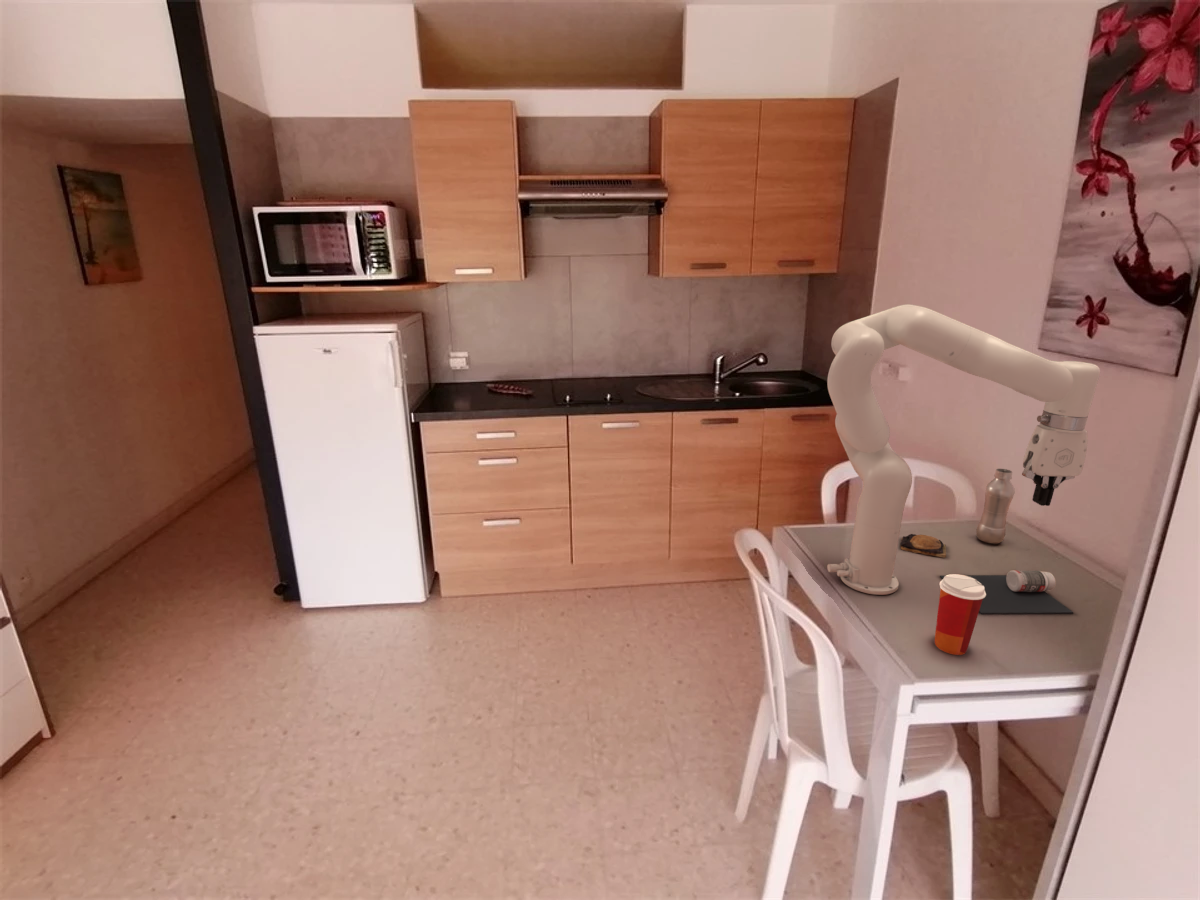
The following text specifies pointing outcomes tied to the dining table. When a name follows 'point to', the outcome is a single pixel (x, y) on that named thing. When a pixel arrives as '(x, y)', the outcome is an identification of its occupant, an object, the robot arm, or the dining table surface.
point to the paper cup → (957, 612)
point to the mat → (1014, 599)
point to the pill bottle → (1030, 581)
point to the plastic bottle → (996, 507)
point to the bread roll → (923, 545)
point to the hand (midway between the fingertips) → (1040, 503)
